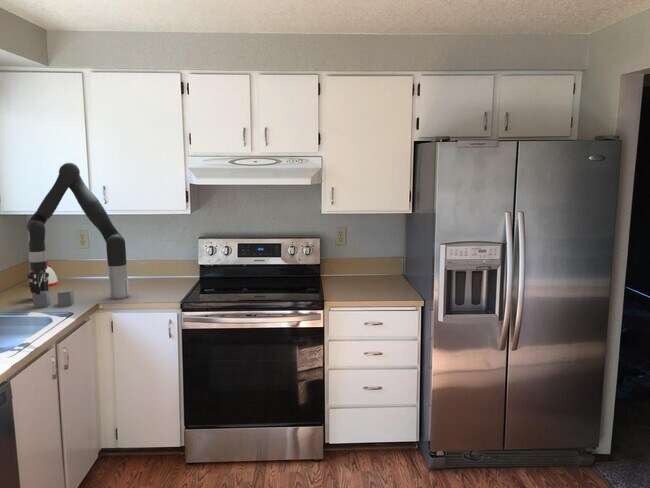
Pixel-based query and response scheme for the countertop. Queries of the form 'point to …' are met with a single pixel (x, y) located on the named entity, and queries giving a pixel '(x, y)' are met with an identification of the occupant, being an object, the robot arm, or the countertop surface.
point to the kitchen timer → (51, 276)
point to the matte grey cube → (65, 298)
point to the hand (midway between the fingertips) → (40, 292)
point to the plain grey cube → (41, 299)
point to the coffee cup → (36, 283)
